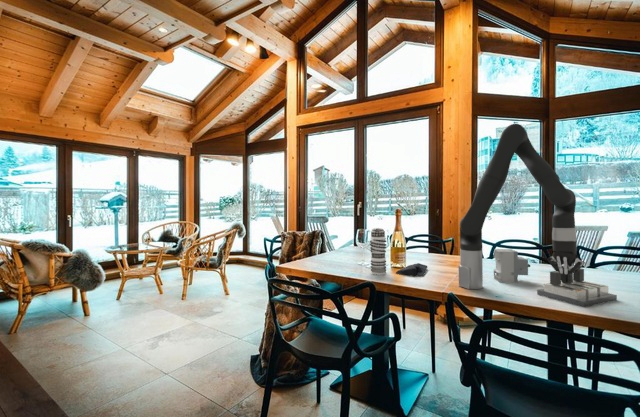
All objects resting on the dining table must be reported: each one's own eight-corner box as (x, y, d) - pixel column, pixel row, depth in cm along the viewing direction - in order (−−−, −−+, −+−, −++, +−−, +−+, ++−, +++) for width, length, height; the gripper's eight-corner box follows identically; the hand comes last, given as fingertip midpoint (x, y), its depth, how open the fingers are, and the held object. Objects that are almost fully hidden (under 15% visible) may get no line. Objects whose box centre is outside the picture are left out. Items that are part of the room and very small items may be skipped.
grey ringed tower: (390, 273, 174) (389, 228, 174) (378, 275, 169) (377, 229, 168) (378, 270, 182) (378, 227, 181) (366, 272, 176) (366, 228, 176)
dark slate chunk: (432, 270, 182) (431, 261, 182) (422, 278, 163) (422, 269, 163) (406, 267, 190) (405, 259, 190) (393, 275, 172) (393, 266, 171)
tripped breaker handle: (556, 285, 125) (556, 272, 125) (550, 283, 127) (550, 271, 127) (561, 284, 126) (560, 272, 126) (554, 283, 128) (554, 271, 128)
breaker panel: (583, 307, 115) (583, 279, 114) (537, 294, 131) (537, 270, 130) (616, 300, 122) (616, 273, 121) (569, 288, 138) (568, 265, 137)
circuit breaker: (532, 283, 148) (531, 251, 148) (499, 282, 151) (498, 251, 151) (525, 279, 155) (524, 249, 155) (493, 278, 158) (493, 248, 158)
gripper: (540, 238, 128) (542, 281, 128) (576, 241, 115) (578, 288, 115) (553, 237, 130) (554, 279, 130) (589, 239, 118) (591, 285, 118)
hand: (566, 283), depth 123 cm, fingers closed
